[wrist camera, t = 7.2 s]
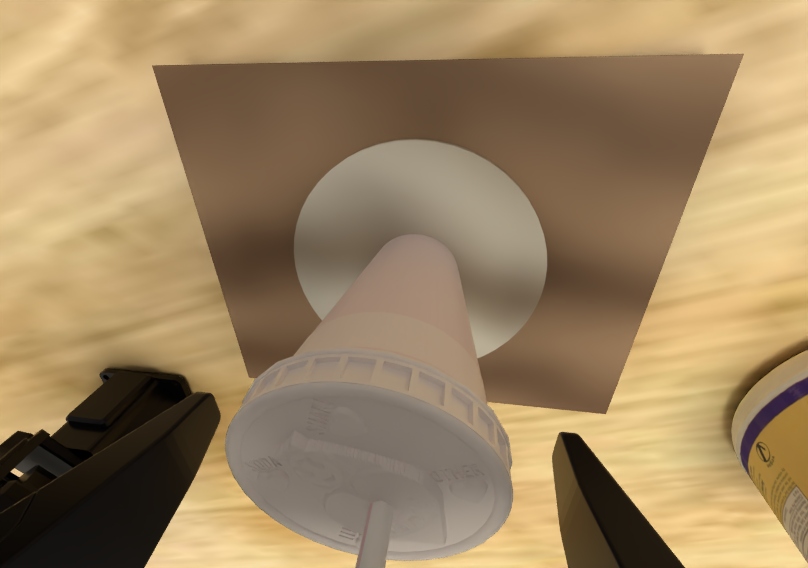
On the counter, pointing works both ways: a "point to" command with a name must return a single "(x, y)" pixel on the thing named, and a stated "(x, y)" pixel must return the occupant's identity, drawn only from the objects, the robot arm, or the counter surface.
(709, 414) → the counter surface
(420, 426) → the smoothie
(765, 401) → the supplement tub
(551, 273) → the walnut base
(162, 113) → the counter surface
